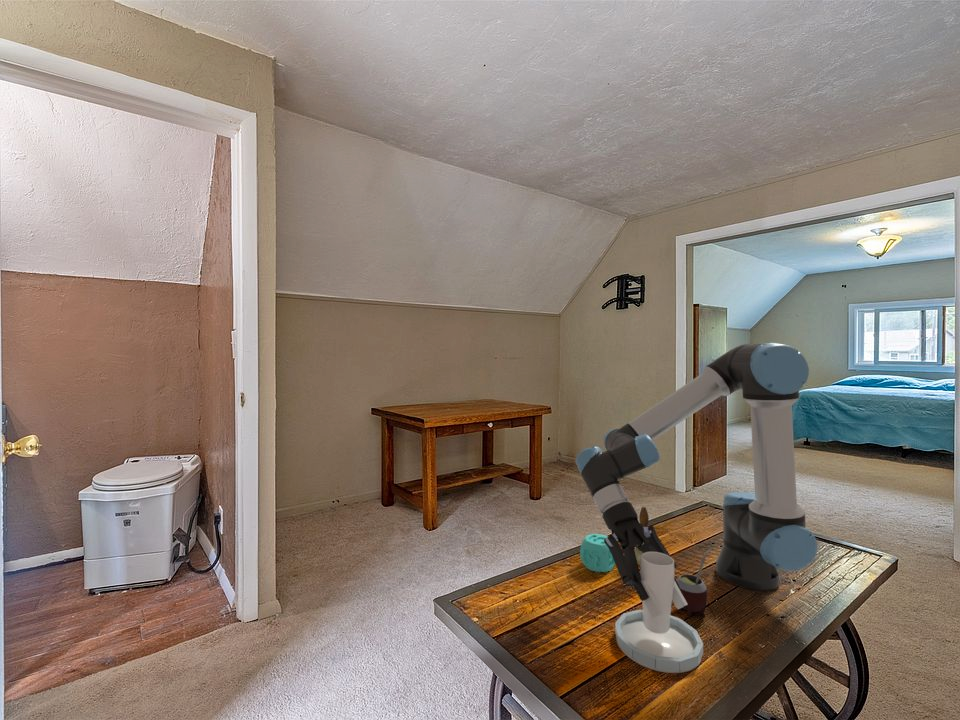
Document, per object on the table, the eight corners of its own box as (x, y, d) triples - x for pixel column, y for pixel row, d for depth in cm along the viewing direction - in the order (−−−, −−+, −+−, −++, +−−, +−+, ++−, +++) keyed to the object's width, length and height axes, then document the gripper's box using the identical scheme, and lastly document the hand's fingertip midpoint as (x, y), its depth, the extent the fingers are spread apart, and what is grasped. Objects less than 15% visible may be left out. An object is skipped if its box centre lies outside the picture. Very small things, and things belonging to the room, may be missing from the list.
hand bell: (637, 567, 131) (638, 513, 130) (625, 554, 139) (625, 503, 138) (664, 565, 132) (665, 511, 131) (650, 553, 140) (650, 502, 140)
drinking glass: (676, 639, 93) (678, 567, 92) (642, 635, 94) (643, 564, 94) (669, 620, 99) (670, 552, 99) (637, 616, 101) (638, 549, 100)
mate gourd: (672, 614, 108) (672, 552, 107) (678, 599, 114) (679, 540, 114) (706, 625, 103) (707, 560, 103) (711, 609, 110) (712, 548, 109)
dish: (687, 624, 104) (687, 613, 104) (713, 677, 87) (714, 665, 87) (611, 617, 106) (611, 607, 106) (622, 667, 90) (622, 655, 90)
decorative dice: (592, 557, 137) (592, 531, 137) (617, 565, 132) (617, 538, 132) (579, 567, 131) (579, 539, 131) (605, 575, 126) (605, 547, 126)
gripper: (637, 509, 114) (691, 605, 100) (575, 522, 106) (625, 629, 91) (654, 494, 109) (713, 593, 95) (590, 506, 101) (645, 617, 87)
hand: (670, 611), depth 93 cm, fingers closed on drinking glass, 7 cm apart
